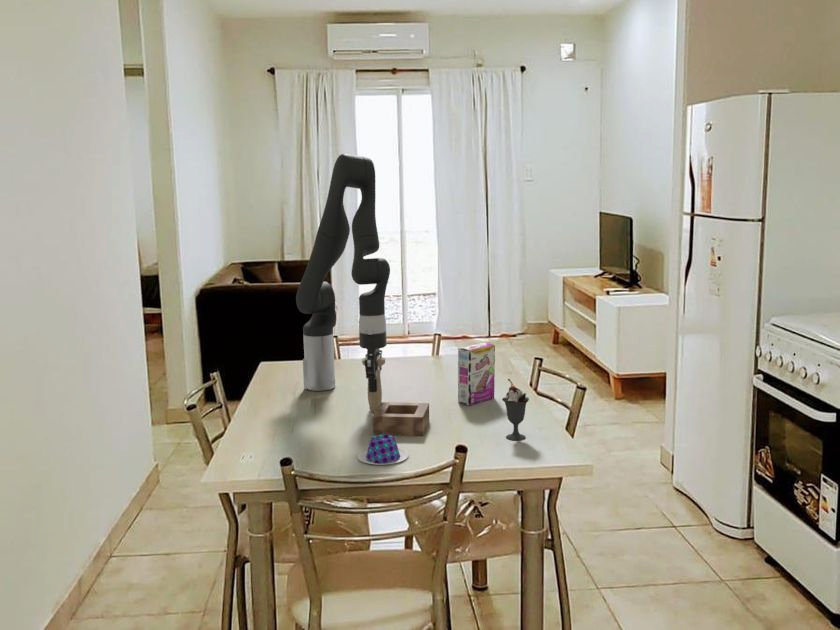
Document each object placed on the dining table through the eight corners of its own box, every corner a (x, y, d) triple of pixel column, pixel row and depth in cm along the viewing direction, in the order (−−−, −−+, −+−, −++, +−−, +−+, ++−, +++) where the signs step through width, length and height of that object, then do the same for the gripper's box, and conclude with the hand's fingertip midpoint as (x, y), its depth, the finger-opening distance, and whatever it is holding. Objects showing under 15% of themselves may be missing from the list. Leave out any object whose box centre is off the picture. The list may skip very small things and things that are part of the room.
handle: (387, 412, 237) (385, 360, 234) (364, 413, 236) (362, 361, 234) (385, 407, 242) (384, 356, 239) (363, 409, 241) (361, 357, 238)
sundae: (501, 433, 216) (501, 376, 214) (527, 433, 216) (527, 376, 213) (503, 441, 210) (502, 383, 207) (530, 441, 210) (530, 383, 207)
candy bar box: (470, 406, 241) (469, 350, 238) (457, 403, 245) (456, 347, 242) (495, 398, 249) (495, 343, 246) (483, 395, 252) (482, 341, 250)
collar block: (373, 434, 217) (372, 416, 217) (382, 419, 230) (381, 402, 229) (423, 436, 216) (422, 417, 215) (429, 420, 228) (429, 403, 227)
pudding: (387, 447, 209) (387, 426, 208) (418, 459, 200) (418, 437, 199) (347, 458, 201) (347, 437, 201) (378, 471, 192) (377, 449, 191)
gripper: (364, 325, 242) (366, 383, 245) (354, 335, 228) (356, 396, 231) (390, 325, 241) (391, 383, 244) (381, 335, 227) (383, 396, 230)
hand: (374, 389), depth 238 cm, fingers closed on handle, 4 cm apart
